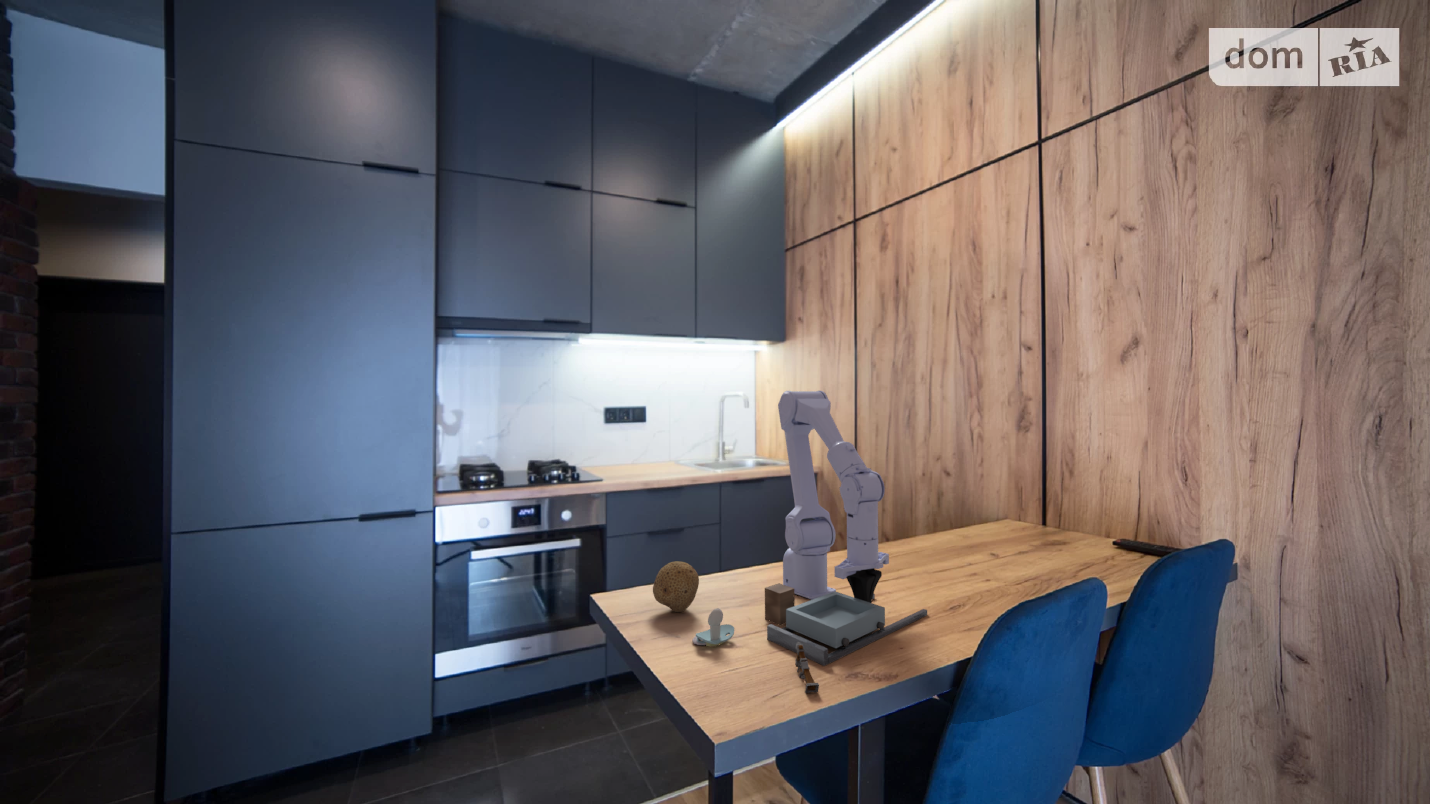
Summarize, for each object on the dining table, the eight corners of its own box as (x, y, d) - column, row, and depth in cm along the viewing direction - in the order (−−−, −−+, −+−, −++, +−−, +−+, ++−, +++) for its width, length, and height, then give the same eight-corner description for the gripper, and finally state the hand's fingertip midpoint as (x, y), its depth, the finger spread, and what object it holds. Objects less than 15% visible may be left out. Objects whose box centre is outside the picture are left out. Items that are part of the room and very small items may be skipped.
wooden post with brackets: (801, 659, 85) (804, 638, 83) (815, 705, 78) (819, 683, 76) (790, 660, 85) (792, 639, 83) (803, 706, 78) (807, 684, 76)
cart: (783, 625, 97) (782, 608, 97) (832, 606, 106) (832, 590, 106) (839, 650, 87) (839, 630, 87) (888, 626, 96) (888, 608, 96)
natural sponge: (661, 624, 101) (660, 571, 101) (647, 608, 109) (646, 558, 110) (705, 616, 105) (705, 564, 105) (688, 600, 113) (688, 553, 113)
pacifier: (684, 643, 94) (706, 654, 89) (683, 607, 94) (705, 616, 89) (717, 631, 98) (739, 641, 94) (716, 597, 99) (738, 605, 94)
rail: (767, 639, 94) (767, 625, 94) (871, 597, 114) (871, 586, 114) (824, 666, 85) (824, 650, 85) (927, 615, 104) (927, 602, 104)
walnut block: (765, 619, 103) (764, 587, 103) (779, 613, 106) (779, 583, 106) (780, 625, 100) (779, 593, 100) (794, 619, 103) (794, 588, 103)
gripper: (857, 547, 94) (857, 625, 94) (902, 534, 103) (903, 605, 103) (825, 540, 100) (825, 613, 100) (871, 527, 109) (871, 595, 109)
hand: (863, 608), depth 102 cm, fingers closed
